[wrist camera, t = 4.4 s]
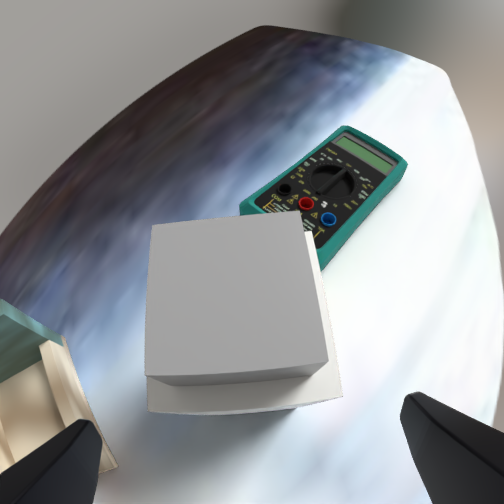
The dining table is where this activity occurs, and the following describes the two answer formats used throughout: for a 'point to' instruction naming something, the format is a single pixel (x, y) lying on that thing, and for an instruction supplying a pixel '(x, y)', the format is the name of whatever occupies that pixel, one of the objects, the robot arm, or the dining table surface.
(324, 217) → the digital multimeter
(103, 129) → the dining table surface
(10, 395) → the tray
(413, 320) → the dining table surface
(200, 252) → the connector plug
